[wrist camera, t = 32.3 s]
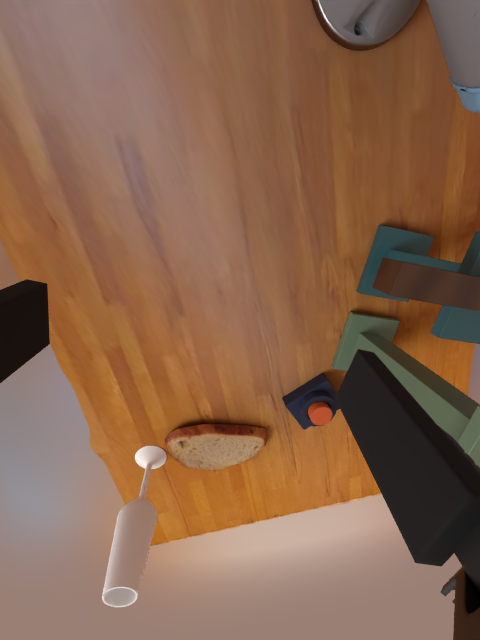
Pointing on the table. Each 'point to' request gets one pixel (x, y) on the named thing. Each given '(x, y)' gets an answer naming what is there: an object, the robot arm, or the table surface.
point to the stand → (413, 378)
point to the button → (319, 413)
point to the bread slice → (215, 445)
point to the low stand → (415, 250)
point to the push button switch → (311, 399)
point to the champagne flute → (132, 538)
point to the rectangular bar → (428, 284)
